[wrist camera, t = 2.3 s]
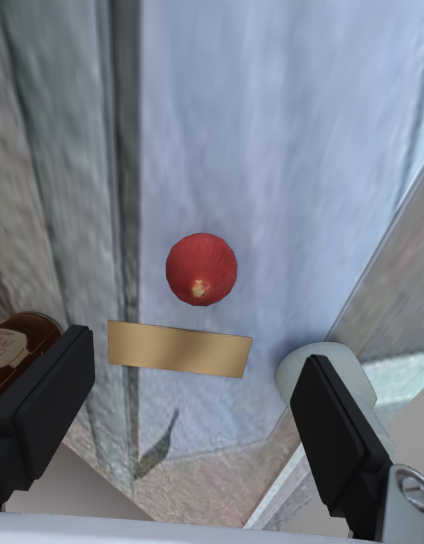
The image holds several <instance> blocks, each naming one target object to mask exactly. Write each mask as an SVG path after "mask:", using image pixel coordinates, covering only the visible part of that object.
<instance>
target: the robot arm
mask: <svg viewBox="0 0 424 544" xmlns="http://www.w3.org/2000/svg"><path fill="white" fill-rule="evenodd" d="M94 381H95V364H94V346H93V332H92V330H89V327H88V326H82V325H71V326H70V327H69V328H68V329H67V330H66V332H65V333H64V334H63V335H62V336H61V337H60V338H59V339H58V340H57V341H56V342H55V343H54V344H53V345H52V346H51V348H50V349H49V350H48V351H47V352H46V353H45V354H44V355H42V356H40V357H38V358H37V359H36V360H35V361H34V362H33V363H32V364H31V365H30V366H29V367H28V368H27V370H26V371H25V372H24V373H23V374H22V375H21V376H20V377H19V378H18V379H17V380H16V381H15V382H14V383H13V384H12V385H11V386H10V387H9V388H8V389H7V390H6V391H5V393H4V394H3V395H2V396H1V397H0V544H424V476H423V475H422V474H421V473H420V472H418V471H417V470H415V469H413V468H411V467H410V466H407V465H403V464H393V463H392V461H391V459H390V458H389V457H390V456H389V454H388V453H387V451H386V449H385V448H384V446H383V445H382V443H381V441H380V440H379V438H378V437H377V435H376V433H375V432H374V430H373V429H372V427H371V426H370V424H369V422H368V421H367V419H366V418H365V416H364V414H363V413H362V411H361V410H360V408H359V406H358V405H357V403H356V402H355V400H354V398H353V397H352V395H351V394H350V392H349V391H348V389H347V387H346V386H345V384H344V383H343V381H342V379H341V378H340V376H339V375H338V373H337V371H336V370H335V368H334V367H333V365H332V363H331V362H330V360H329V359H328V357H327V356H325V355H317V354H311V355H310V357H307V358H306V360H305V363H304V365H303V368H302V370H301V373H300V375H299V378H298V381H297V383H296V386H295V388H294V391H293V393H292V396H291V398H290V408H291V411H292V414H293V417H294V420H295V423H296V426H297V429H298V432H299V435H300V438H301V441H302V444H303V447H304V450H305V453H306V456H307V459H308V462H309V465H310V468H311V471H312V474H313V477H314V480H315V483H316V486H317V489H318V492H319V495H320V498H321V500H322V502H323V503H324V504H325V505H327V508H328V511H329V513H330V516H331V517H340V518H346V521H347V524H348V526H349V534H348V538H340V537H331V536H322V535H311V534H300V533H288V532H276V531H265V530H253V529H242V528H229V527H217V526H204V525H192V524H179V523H167V522H153V521H141V520H127V519H114V518H100V517H87V516H73V515H55V514H38V513H37V514H36V513H18V512H5V502H6V501H8V499H9V498H10V496H11V494H12V493H13V491H14V490H21V491H28V490H29V488H30V487H31V485H32V483H33V481H34V480H35V479H39V478H40V477H41V476H42V475H43V473H44V471H45V470H46V468H47V466H48V464H49V462H50V461H51V459H52V457H53V455H54V454H55V452H56V450H57V448H58V447H59V445H60V443H61V441H62V440H63V438H64V436H65V434H66V433H67V431H68V429H69V427H70V425H71V424H72V422H73V420H74V418H75V417H76V415H77V413H78V411H79V410H80V408H81V406H82V404H83V403H84V401H85V399H86V397H87V395H88V394H89V392H90V390H91V388H92V387H93V384H94Z"/></svg>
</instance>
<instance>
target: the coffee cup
mask: <svg viewBox="0 0 424 544" xmlns="http://www.w3.org/2000/svg"><path fill="white" fill-rule="evenodd" d="M62 335H63V333H62V331H61V329H60V327H59V326H58V324H56V323H55V322H54V321H52V320H51V319H49V318H48V317H46V316H44V315H42V314H38V313H33V312H20V313H17V314H14V315H13V316H12V317H10V318H9V319H7V321H6V322H4V323H2V324H0V397H1V396H2V395H3V394H4V393H5V391H6V390H7V389H8V388H9V387H10V386H11V385H12V384H13V383H14V382H15V381H16V380H17V379H18V378H19V377H20V376H21V375H22V374H23V373H24V372H25V371H26V370H27V368H28V367H29V366H30V365H31V364H32V363H33V362H34V361H35V360H36V359H37V358H38V357H40V356H42V355H44V354H45V353H46V352H47V351H48V350H49V349H50V348H51V346H52V345H53V344H54V343H55V342H56V341H57V340H58V339H59V338H60V337H61V336H62Z"/></svg>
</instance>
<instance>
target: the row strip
mask: <svg viewBox="0 0 424 544" xmlns="http://www.w3.org/2000/svg"><path fill="white" fill-rule="evenodd" d="M251 343H252V338H249V337H241V336H233V335H225V334H217V333H209V332H201V331H193V330H185V329H177V328H168V327H160V326H152V325H144V324H136V323H128V322H120V321H112V320H109V321H108V345H109V363H111V364H120V365H129V366H138V367H147V368H156V369H165V370H174V371H183V372H192V373H201V374H210V375H219V376H228V377H237V378H242V375H243V371H244V368H245V364H246V361H247V357H248V354H249V350H250V346H251Z"/></svg>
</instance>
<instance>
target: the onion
mask: <svg viewBox="0 0 424 544" xmlns="http://www.w3.org/2000/svg"><path fill="white" fill-rule="evenodd" d="M166 278H167V281H168V283H169V286H170V288H171V290H172V292H173V293H174V294H175V295H176V296H177V297H178V298H179V299H180V300H181V301H184V302H186V303H188V304H190V305H193V306H209V305H211V304H213V303H216V302H218V301H220V300H221V299H223V298H224V297H225V296H226V295H227V294H229V293H230V291H231V289H232V287H233V285H234V284H235V282H236V278H237V262H236V258H235V255H234V252H233V250H232V249H231V248H230V247H229V246H228V245H227V243H226V242H225V241H224V240H223V239H221V238H219V237H217V236H215V235H212V234H204V233H197V234H193V235H190V236H187V237H185V238H183V239H182V240H180V241H179V242H178V243H177V244H175V245H174V246H173V247H172V249H171V251H170V253H169V256H168V258H167V261H166Z"/></svg>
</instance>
